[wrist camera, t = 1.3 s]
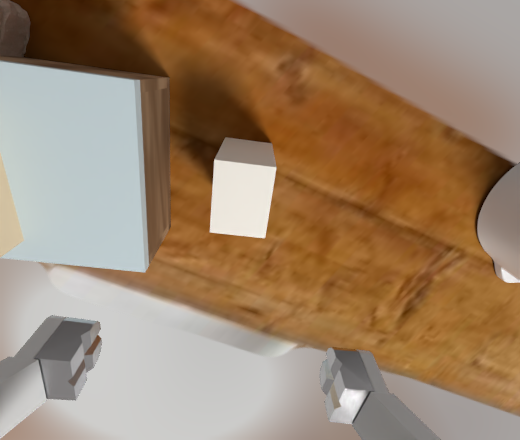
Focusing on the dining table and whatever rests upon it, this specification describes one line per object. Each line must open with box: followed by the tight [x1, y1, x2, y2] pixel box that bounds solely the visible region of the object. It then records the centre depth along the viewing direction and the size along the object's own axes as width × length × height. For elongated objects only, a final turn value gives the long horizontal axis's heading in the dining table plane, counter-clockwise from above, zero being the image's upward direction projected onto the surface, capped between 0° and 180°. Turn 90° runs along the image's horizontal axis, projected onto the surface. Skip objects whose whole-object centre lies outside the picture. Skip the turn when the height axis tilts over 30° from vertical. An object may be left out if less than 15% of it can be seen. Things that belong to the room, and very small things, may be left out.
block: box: [210, 137, 276, 238], centre depth 26 cm, size 4×6×8 cm
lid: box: [0, 60, 149, 272], centre depth 20 cm, size 12×15×5 cm
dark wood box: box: [0, 56, 171, 264], centre depth 26 cm, size 12×15×7 cm
